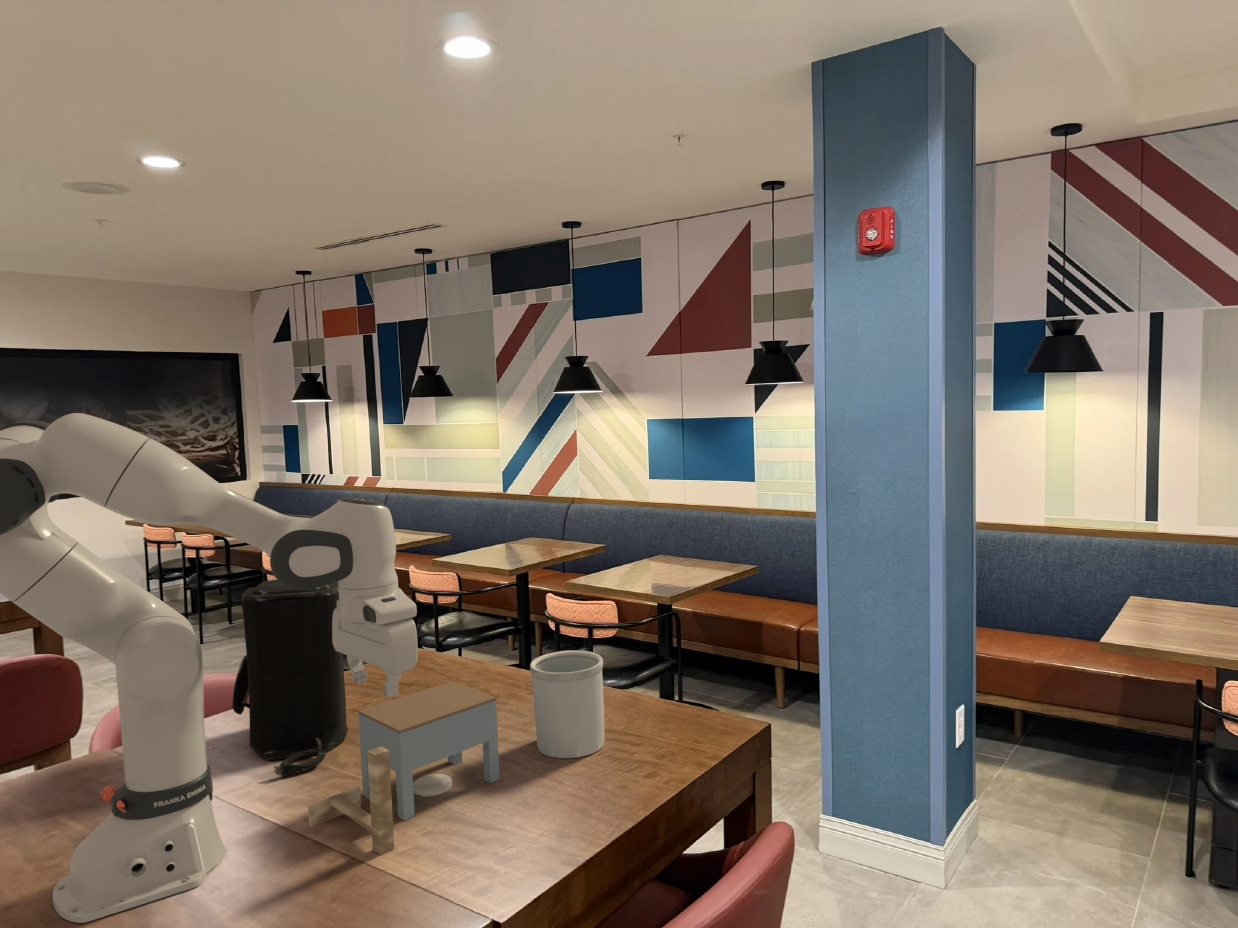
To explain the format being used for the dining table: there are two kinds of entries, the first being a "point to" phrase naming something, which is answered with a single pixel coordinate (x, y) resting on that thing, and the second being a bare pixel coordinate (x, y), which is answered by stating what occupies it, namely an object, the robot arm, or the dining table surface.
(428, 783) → the smooth oval stone
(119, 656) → the robot arm
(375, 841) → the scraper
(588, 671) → the utensil holder
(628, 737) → the dining table surface
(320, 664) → the coffee maker
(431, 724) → the wooden top stool
